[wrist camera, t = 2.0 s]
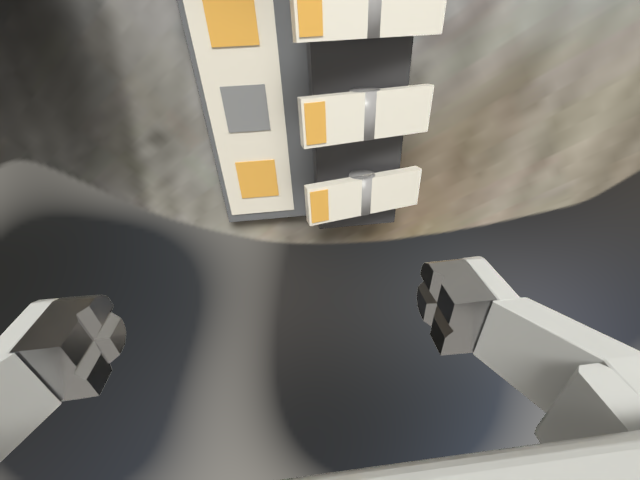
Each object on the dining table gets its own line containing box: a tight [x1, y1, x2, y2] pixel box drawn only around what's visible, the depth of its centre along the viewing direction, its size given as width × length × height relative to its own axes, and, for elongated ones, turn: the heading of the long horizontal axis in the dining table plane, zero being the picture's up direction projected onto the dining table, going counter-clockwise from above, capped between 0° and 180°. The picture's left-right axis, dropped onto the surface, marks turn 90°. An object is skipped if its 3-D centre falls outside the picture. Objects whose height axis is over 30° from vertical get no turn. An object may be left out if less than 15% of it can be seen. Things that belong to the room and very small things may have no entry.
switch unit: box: [177, 0, 413, 229], centre depth 29 cm, size 18×24×6 cm
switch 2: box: [297, 84, 434, 149], centre depth 25 cm, size 11×4×2 cm, turn 93°
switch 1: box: [290, 0, 447, 43], centre depth 21 cm, size 11×4×2 cm, turn 93°
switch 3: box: [304, 166, 422, 226], centre depth 29 cm, size 11×4×2 cm, turn 93°
